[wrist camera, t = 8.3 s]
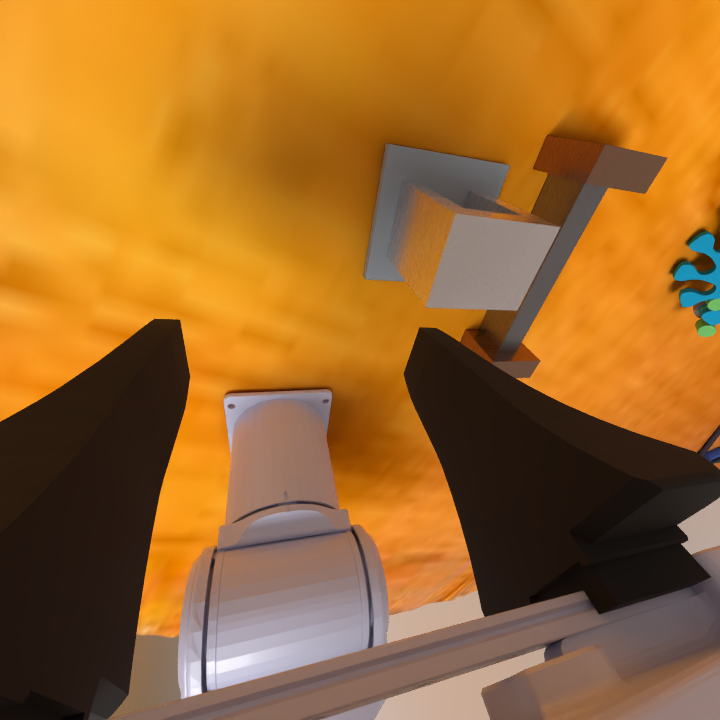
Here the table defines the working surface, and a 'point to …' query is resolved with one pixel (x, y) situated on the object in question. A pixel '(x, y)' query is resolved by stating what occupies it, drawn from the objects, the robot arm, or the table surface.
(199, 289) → the table surface
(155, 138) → the table surface
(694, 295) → the blue lobed piece
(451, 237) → the bracket
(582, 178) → the rail
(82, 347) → the table surface
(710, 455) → the bar clamp
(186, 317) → the table surface
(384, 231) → the mat
